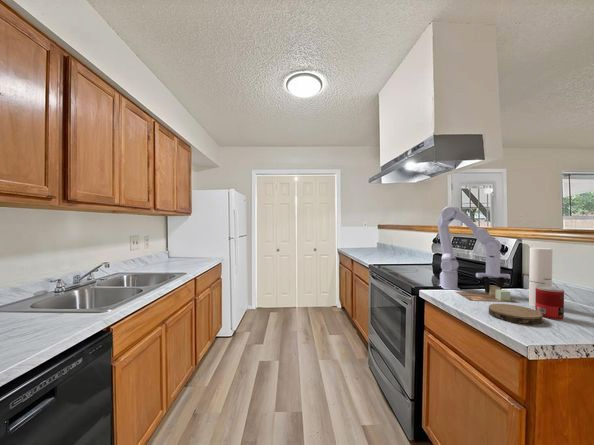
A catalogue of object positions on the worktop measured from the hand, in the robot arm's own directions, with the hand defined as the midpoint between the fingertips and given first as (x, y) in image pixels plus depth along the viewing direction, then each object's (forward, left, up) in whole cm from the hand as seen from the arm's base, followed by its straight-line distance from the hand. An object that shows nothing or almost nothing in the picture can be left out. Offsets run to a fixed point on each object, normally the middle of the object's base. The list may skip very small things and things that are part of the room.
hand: (492, 292), depth 133 cm
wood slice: (+31, -9, -2) cm, 32 cm away
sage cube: (+8, 0, -1) cm, 8 cm away
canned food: (+28, +5, -2) cm, 28 cm away
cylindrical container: (+16, +10, -2) cm, 19 cm away
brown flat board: (+5, -6, -2) cm, 8 cm away
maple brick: (0, 0, -1) cm, 1 cm away
